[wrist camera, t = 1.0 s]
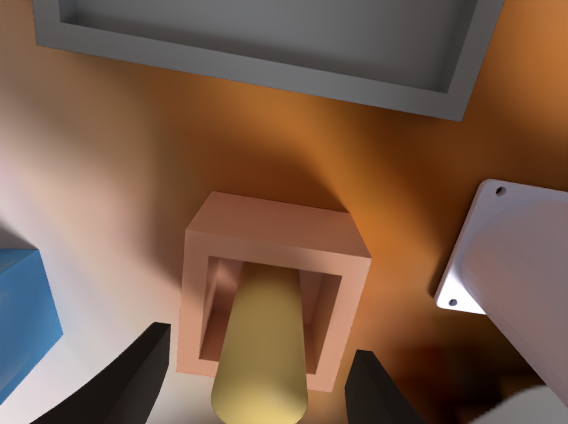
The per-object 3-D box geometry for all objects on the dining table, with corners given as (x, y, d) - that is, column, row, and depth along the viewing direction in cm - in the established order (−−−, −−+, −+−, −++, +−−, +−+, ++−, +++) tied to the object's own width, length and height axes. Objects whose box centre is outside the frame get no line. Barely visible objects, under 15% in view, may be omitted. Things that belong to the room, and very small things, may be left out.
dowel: (304, 255, 17) (316, 371, 10) (293, 304, 19) (297, 439, 12) (244, 246, 17) (215, 358, 10) (237, 296, 18) (207, 428, 11)
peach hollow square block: (350, 213, 18) (372, 258, 13) (321, 323, 21) (331, 392, 16) (212, 190, 18) (185, 229, 13) (201, 306, 20) (176, 372, 16)
